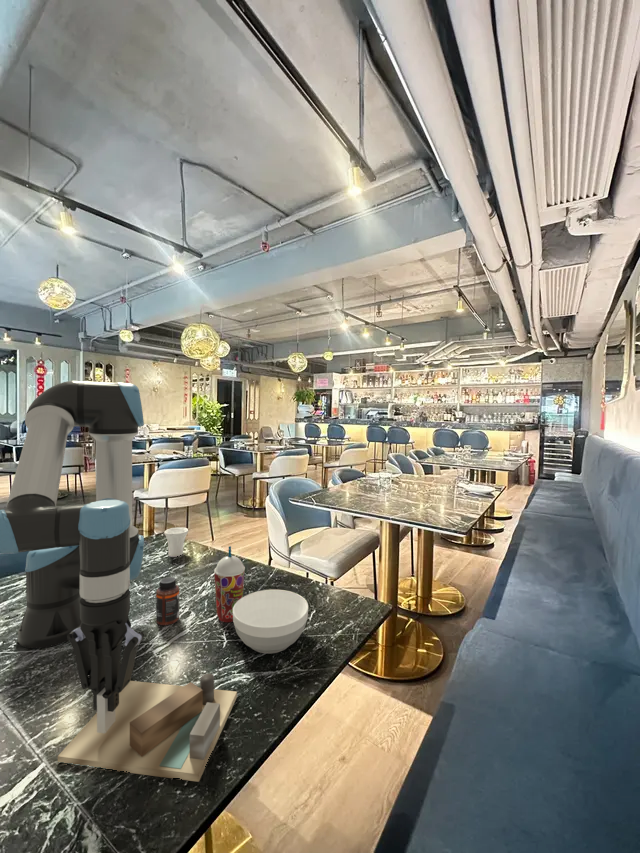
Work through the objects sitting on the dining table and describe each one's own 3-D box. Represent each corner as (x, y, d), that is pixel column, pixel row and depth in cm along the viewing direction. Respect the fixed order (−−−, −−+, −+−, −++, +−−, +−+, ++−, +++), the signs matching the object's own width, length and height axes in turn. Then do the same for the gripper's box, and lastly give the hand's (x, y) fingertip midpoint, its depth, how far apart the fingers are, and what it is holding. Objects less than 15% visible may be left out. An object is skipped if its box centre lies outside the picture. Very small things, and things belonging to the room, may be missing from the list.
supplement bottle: (184, 618, 108) (184, 577, 107) (167, 628, 102) (167, 586, 102) (168, 613, 110) (168, 573, 110) (151, 623, 105) (151, 582, 104)
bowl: (316, 657, 92) (317, 620, 91) (235, 671, 86) (235, 632, 86) (298, 616, 110) (298, 585, 109) (229, 625, 104) (230, 593, 104)
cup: (159, 558, 150) (159, 532, 150) (172, 549, 160) (172, 525, 159) (180, 560, 149) (180, 534, 149) (192, 551, 158) (192, 527, 158)
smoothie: (237, 627, 103) (237, 553, 103) (208, 623, 105) (208, 550, 104) (249, 611, 112) (249, 542, 111) (222, 608, 113) (222, 540, 113)
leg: (190, 702, 75) (190, 682, 75) (202, 710, 73) (202, 689, 73) (129, 745, 65) (129, 722, 65) (141, 756, 63) (141, 732, 63)
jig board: (57, 763, 63) (57, 730, 63) (125, 685, 81) (125, 659, 81) (198, 781, 60) (199, 747, 60) (236, 697, 78) (237, 670, 78)
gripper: (153, 585, 69) (153, 714, 70) (86, 580, 71) (87, 706, 72) (127, 606, 62) (128, 749, 63) (53, 600, 63) (55, 740, 64)
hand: (106, 726), depth 67 cm, fingers closed
